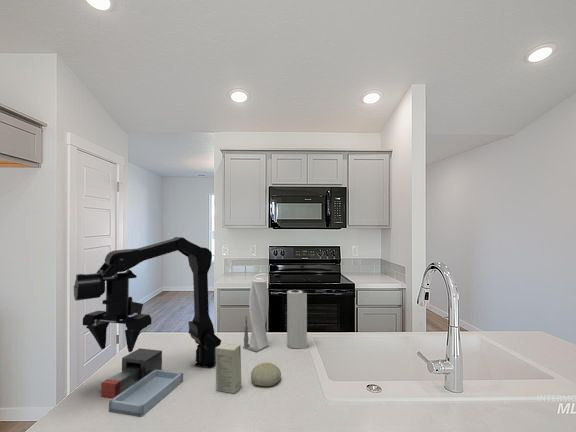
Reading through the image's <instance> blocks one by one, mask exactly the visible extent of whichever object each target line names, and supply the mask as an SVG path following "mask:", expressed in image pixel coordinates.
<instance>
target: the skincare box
mask: <svg viewBox="0 0 576 432" xmlns="http://www.w3.org/2000/svg"><path fill="white" fill-rule="evenodd" d="M241 349H242V347H241V344H235V343H224V342H221V344H220V345H219V346H218V347H216V348H215V351H216V364H215V390H216V391H218V392H225V393H230V394H235V393H237V392H238V390H240V389H241V388H242V355H241V354H242V353H241V352H242V351H241Z"/></svg>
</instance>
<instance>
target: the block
mask: <svg viewBox="0 0 576 432" xmlns="http://www.w3.org/2000/svg"><path fill="white" fill-rule="evenodd" d="M135 363H140V364H141V379H142V378H144V377H145V376H147V375H148V374H150V373H151V372H152V371H154V370H155V369H156V370H163V350H157V349H151V348H141V347H139V348H137V349H136V350H133V351H132V352H129V354H127V355H125V356H123V357H121V372H122V371H124V370H125V369H127V368H129V367H130V366H132V365H134V364H135Z"/></svg>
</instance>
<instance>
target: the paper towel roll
mask: <svg viewBox="0 0 576 432" xmlns="http://www.w3.org/2000/svg"><path fill="white" fill-rule="evenodd" d="M286 293H287V295H286V300H287V301H286V303H287V304H286V305H287V306H286V307H287V308H286V310H287V311H286V313H287V314H286V315H287V316H286V332H287V333H286V335H287V336H286V337H287V338H286V339H287V340H286V345H287V347H288V348H289V349H290V348H291V349H307V348H308V345H307V344H308V335H307V334H308V330H307V329H308V318H307V317H308V314H307V313H308V309H307V308H308V306H307V305H308V303H307V302H308V295H307V294H308V293H307V292H303V291H302V290H299V289H292V290H287V291H286Z"/></svg>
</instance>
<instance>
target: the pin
mask: <svg viewBox="0 0 576 432" xmlns="http://www.w3.org/2000/svg"><path fill="white" fill-rule="evenodd" d="M139 380H141V364H140V363H135V364H134V365H132V366H130V367H129V368H127V369H125V370H124V371H122V370H121V371H120V372H119V373H116V375H115V374H114V376H112V377H110V378H107V379H104V380H103V381H101V385H100V386H101V389H100V392H101V393H100V397H101V398H105V399H110V400H112V399H113V398H115V397H116V396H118V395H119V394H120V393H122V392H123V391H125V390H126V389H128V388H129V387H131V386H132V385H134V384H135V383H136V382H138V381H139Z"/></svg>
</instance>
